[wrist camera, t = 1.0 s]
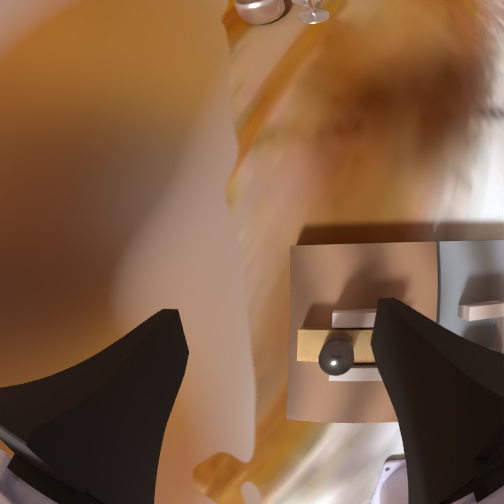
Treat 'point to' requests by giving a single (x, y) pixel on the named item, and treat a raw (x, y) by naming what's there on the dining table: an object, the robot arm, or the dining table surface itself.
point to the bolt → (334, 347)
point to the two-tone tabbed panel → (365, 305)
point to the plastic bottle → (260, 10)
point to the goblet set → (311, 12)
